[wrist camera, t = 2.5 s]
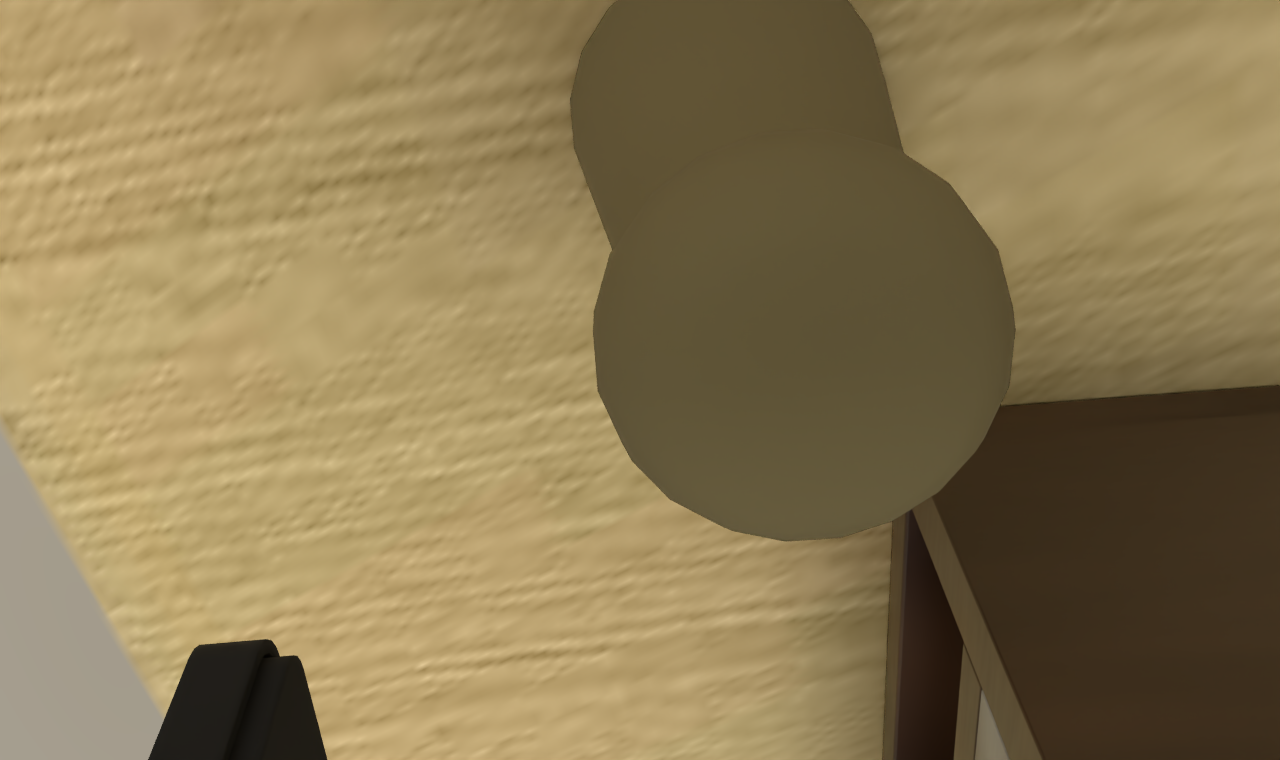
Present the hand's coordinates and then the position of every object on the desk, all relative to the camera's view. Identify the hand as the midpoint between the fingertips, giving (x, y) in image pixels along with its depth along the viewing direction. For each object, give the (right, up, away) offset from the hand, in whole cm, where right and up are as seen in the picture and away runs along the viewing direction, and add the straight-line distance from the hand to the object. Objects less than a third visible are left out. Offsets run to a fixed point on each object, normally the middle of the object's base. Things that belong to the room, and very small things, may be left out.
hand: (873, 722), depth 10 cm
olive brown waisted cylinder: (0, +8, +14) cm, 16 cm away
